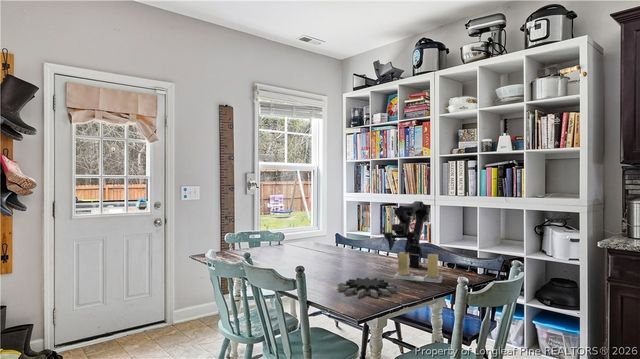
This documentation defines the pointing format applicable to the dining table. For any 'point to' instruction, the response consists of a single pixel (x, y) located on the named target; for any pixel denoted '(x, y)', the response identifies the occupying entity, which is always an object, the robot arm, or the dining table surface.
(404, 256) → the billet
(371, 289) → the decorative piece
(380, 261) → the dining table surface
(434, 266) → the seated billet
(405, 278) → the white shallow tray
